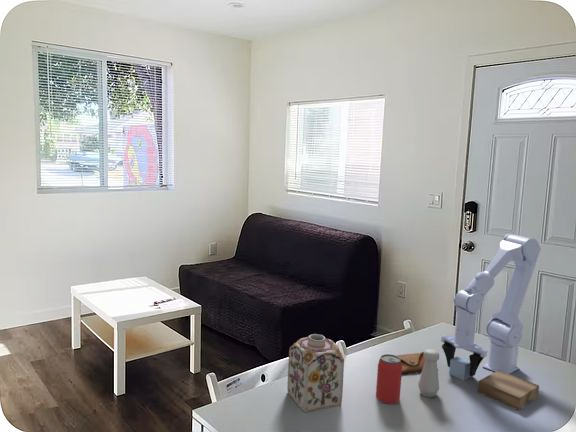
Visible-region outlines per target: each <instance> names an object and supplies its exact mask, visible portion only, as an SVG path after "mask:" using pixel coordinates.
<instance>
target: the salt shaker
mask: <svg viewBox="0 0 576 432" xmlns="http://www.w3.org/2000/svg"><path fill="white" fill-rule="evenodd" d="M423 352H424V358H425V363H424V366H423V370H422V372H420V373H421V374H420V376H419V380H418V389H419V393H420V394H421V395H422V396H423V397H425V398H433V397H435V396H436V395H437V394H438V393H439V390H440V383H439V382H440V381H439V373H438V371H439V369H438V361H439V359H440V353H439V352H438V351H437V350H435V349H431V348H427V349H425V350H424V351H423ZM437 369H438V370H437Z"/></svg>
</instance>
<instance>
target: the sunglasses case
mask: <svg viewBox="0 0 576 432" xmlns="http://www.w3.org/2000/svg"><path fill="white" fill-rule="evenodd" d="M396 356H398V357H399V358H400V359H401V364H402V376H404V375H410V374H409V373H411V374H417V373H416V372H418V373H422V370H423V366H424V363H425V358H424V351H422V352H417V353H416V352H415V353H406V354H399V355H396ZM437 370H438V371H439V368H437ZM403 374H404V375H403Z"/></svg>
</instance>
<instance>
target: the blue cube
mask: <svg viewBox="0 0 576 432" xmlns="http://www.w3.org/2000/svg"><path fill="white" fill-rule="evenodd" d="M448 373H449V375H451V376H452V377H455V378H457V379H460V380H461V381H465V380H467V379H469V378H472V377H471V376H470V358H466V357H463V356H461V355H457V356H454V358H453V359H451V360H450V367H449V371H448Z"/></svg>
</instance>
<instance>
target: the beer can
mask: <svg viewBox="0 0 576 432" xmlns="http://www.w3.org/2000/svg"><path fill="white" fill-rule="evenodd" d="M376 376H377V377H376V386H375V387H376V388H375V397H376V399H377V400H378V401H379V402H381V403H383V404H388V405H393V404H396V403H399V401H400V399H401V388H402V387H401V385H402V376H403V375H402V364H401V359H400V358H399V357H398V356H397V355H395V354H388V353H387V354H382V355H381V356H380V357H379V360H378V363H377V373H376Z"/></svg>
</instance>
